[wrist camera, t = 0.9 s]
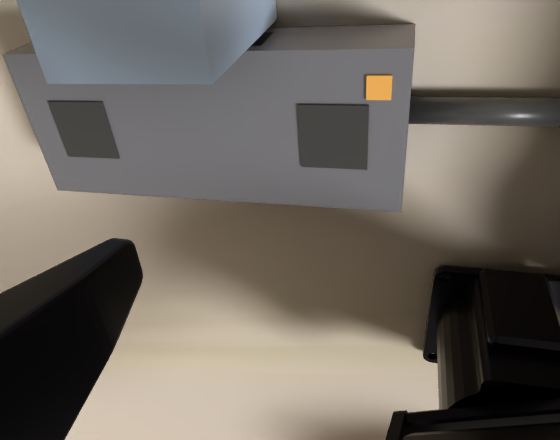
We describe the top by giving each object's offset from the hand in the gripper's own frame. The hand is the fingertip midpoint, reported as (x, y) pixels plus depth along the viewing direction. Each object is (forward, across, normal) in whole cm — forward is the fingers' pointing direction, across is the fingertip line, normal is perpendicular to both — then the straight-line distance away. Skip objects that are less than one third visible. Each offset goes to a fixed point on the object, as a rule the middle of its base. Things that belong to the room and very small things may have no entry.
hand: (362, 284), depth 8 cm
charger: (+12, +7, -3) cm, 14 cm away
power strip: (+12, +4, +1) cm, 13 cm away
